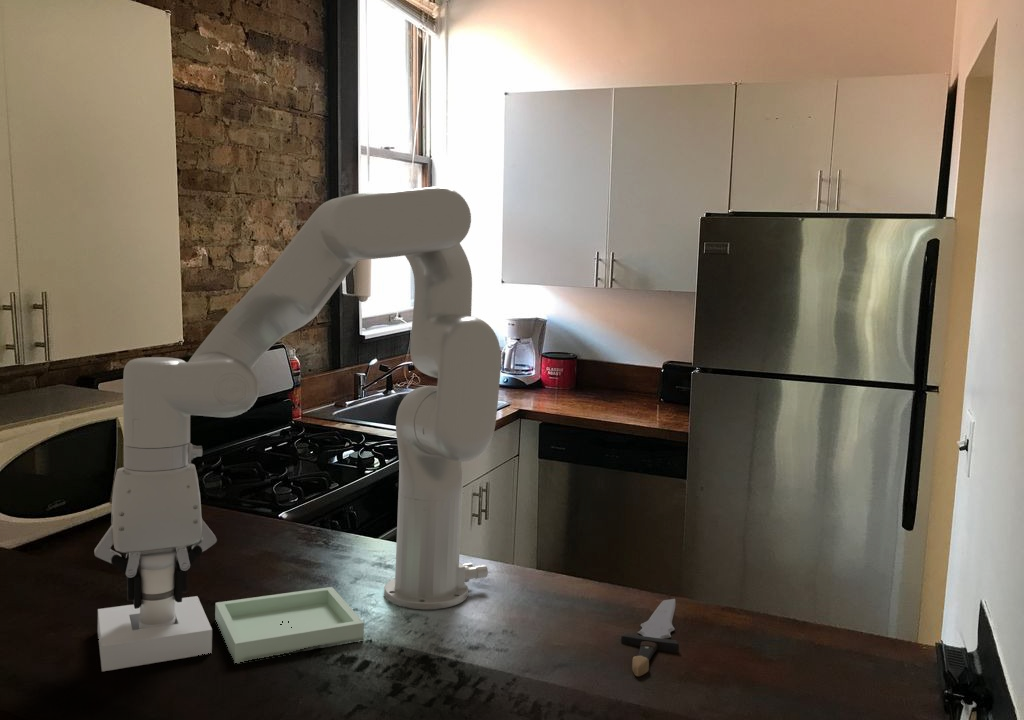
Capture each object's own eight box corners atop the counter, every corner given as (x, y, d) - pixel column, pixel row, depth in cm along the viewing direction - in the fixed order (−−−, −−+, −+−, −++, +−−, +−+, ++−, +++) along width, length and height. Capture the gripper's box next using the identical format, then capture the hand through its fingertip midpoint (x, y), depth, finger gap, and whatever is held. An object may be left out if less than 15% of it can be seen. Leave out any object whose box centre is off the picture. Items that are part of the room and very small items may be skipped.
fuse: (173, 620, 103) (173, 545, 102) (177, 633, 100) (177, 555, 99) (137, 626, 101) (137, 549, 100) (140, 639, 98) (140, 559, 97)
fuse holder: (197, 617, 108) (197, 596, 108) (211, 653, 98) (212, 629, 98) (97, 631, 103) (97, 609, 102) (101, 671, 92) (102, 646, 92)
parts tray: (331, 603, 116) (332, 586, 115) (363, 641, 103) (364, 622, 103) (215, 620, 108) (215, 602, 108) (234, 663, 96) (235, 643, 95)
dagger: (615, 678, 97) (616, 662, 97) (629, 589, 129) (630, 576, 129) (679, 687, 96) (680, 670, 96) (677, 595, 127) (677, 582, 127)
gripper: (223, 447, 106) (222, 582, 108) (79, 456, 98) (80, 601, 99) (233, 458, 100) (232, 601, 101) (81, 469, 91) (82, 624, 93)
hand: (157, 600), depth 100 cm, fingers closed on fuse, 4 cm apart
